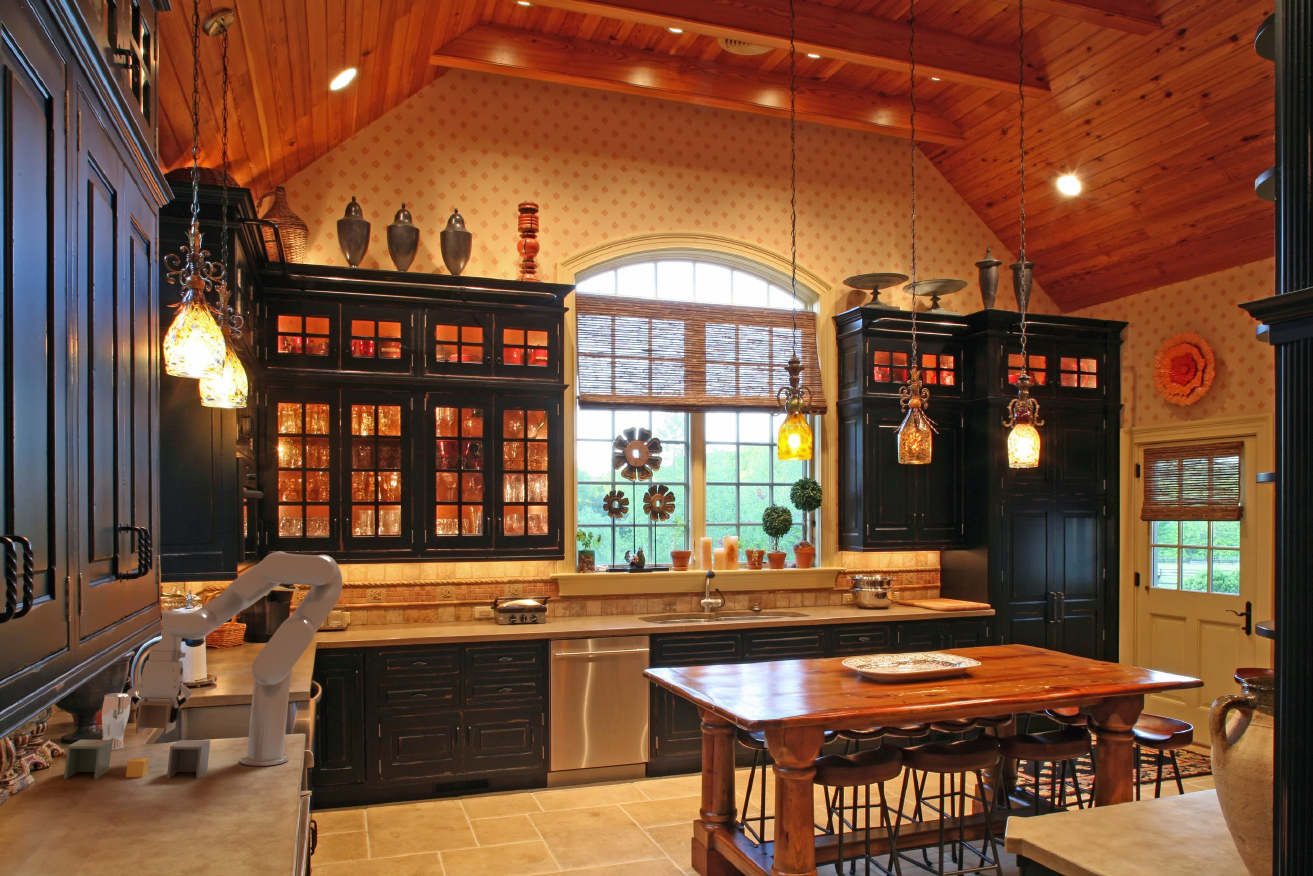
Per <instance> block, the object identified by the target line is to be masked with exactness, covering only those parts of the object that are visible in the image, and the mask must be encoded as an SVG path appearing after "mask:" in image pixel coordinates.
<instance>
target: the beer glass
mask: <svg viewBox="0 0 1313 876" xmlns="http://www.w3.org/2000/svg"><path fill="white" fill-rule="evenodd" d="M130 712H131V698H130V697H129V695H128V694H127V692H113V693H107V694H105V695H104V700H103V703H102V710H101V724H102V738H101V740H112V746H111V751H118V750H122V749H124V748H125V741H124V737H125V729H126V726H127V724H128V722H129V721H128V720H129V717H130Z"/></svg>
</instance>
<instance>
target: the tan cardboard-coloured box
mask: <svg viewBox="0 0 1313 876" xmlns="http://www.w3.org/2000/svg"><path fill="white" fill-rule="evenodd" d="M172 708H173V704H172V702H171V700H170V699H147V700H145V701H142V702H140V703H139V709H138V717H137V719H136V725H135V726H136V727H135V734H140V733H141V732H143V731H145V730H146V729H163V734H164V735H167V734H168V733H170V732H171V731H173V730H175V729H176V724H177V720H176V721H175V722H174V723H170V718H171V709H172Z"/></svg>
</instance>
